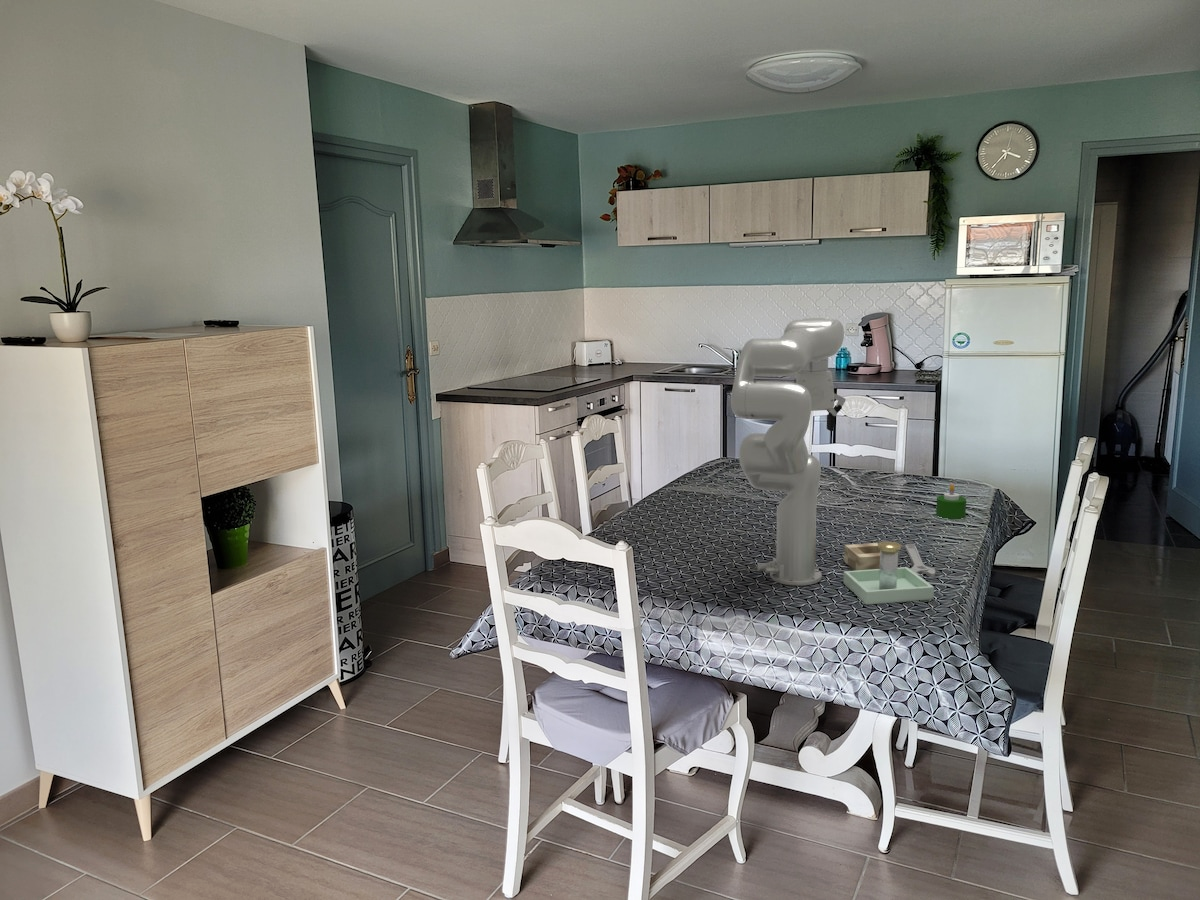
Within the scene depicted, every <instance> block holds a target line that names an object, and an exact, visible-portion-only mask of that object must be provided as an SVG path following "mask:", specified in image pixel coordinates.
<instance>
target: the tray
mask: <svg viewBox="0 0 1200 900" xmlns="http://www.w3.org/2000/svg"><path fill="white" fill-rule="evenodd" d="M910 569H911V568H909V567H908V566H904V567H898V568H897V589H884V590H880V589H879V572H880V569H871V570H857V571H855V570H846V571H843V579H842V580H843V582H842V583H843V585H845V587H847V588H848V589H849V590H850V591H851V592H854V593H853V594H854V595H856V596H857V597H858V598H859V599H860V600H861V601H862V602H863V603H864V604H865V605H878V604H891V603H904V602H918V601H919V600H920V601H929V600H930V599H933V600H934V597H935V594H934V593H935V587H934V586H933V585H932V584H930V583H929V582H928V581H927V580H925V579H924V578H922V576H921V577H920V576H918V575H917V574H916V573H914V572H913V571H912V570H910ZM920 601H919V602H920ZM930 601H931V600H930Z"/></svg>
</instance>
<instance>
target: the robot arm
mask: <svg viewBox="0 0 1200 900" xmlns="http://www.w3.org/2000/svg"><path fill="white" fill-rule="evenodd" d="M844 339H845V330H844V326H843V324H842V322H841V321H840V320H838V319H829V318H822V317H806V318H802V319H793V320H791V321H790V322H789V323H788V324H787V325H786V327H785V328H784V332H783V335H781V336H780V337H779V338H750V339H749V340H747V341H746V342H745V343H744V345H743V347H742V348H741V352H740V354H739V358H738V362H737V366H736V370H735V371H736V372H735V377H734V380H733V384H732V390H731V394H730V395H731V396H730V407H731V412H732V413H733V414H734V416H736V417H737V418H739V419H742V420H743V419H745V420H763V421H764V420H766V421H775V422H774V423H773V424H772V425H771V426H770V427H769V428H768V429H767V431H766V433H760V432H759V433H758V432H757V433H756V432H755V433H749V434H747V435H746V436H745V437H743V439H742V440H741V442H740V447H739V450H738V451H739V453H738V458H739V459H738V460H739V465H740V468H741V470H742V473H743V474H744V476H745V477H746V479H747V481H748V483H749V485H750V486H751V487H753V488H754V489H756V490H761V491H774V492H776V491H777V492H782V493H787V494H786V496H784V498H782V500H780V502H779V504H778V506H777V508H776V547H775V548H776V550H775V551H776V557H772V561H769V562H761V563H760V562H759V563H757V564H756V569H757V571H758V572H761V571H763V572H765V574H769V577H770V579H771V580H772V581H774V582H776V583H778V584H782V585H785V586H786V585H787V586H798V587H800V586H802V587H803V586H810V585H814V584H817V583H819V582H820V581H821V580H822V575H823V574H822V572H821V571H820V570H819V569H818V568H816V558H817V557H816V556H817V555H816V552H817V551H816V549H817V547H816V546H817V545H816V544H817V536H816V535H817V505H818V504H817V503H818V491H819V485H820V480H821V474H822V467H821V462H820V460H819V459H818V458H817V457H815V456H813V455H811V454H809V451H808V447H807V444H806V441H805V435H806V433H807V430H808V428H809V425H810V420H811V414H812V412H813V411H827V415H826V430H828V431H830V432H834V428H835V427H836V416H837V415H838V413H839V412H840V411H841V410H842V408H843V406H844V404H845V402H846V398H845V397H843V396H840V395H839V394H837V393H835V387H834V380H833V373H832V371H831V370H829V358H830V357H833V356H835V355H836V354H837V353H838V352H839V351H840V350H841V348H842V345H843V342H844ZM790 376H794V379H793V382H791V381H780V380H779V381H777V380H776V381H772V380H771V381H770V380H767V381H766V380H764V381H763V380H754V379H755V378H756V377H790ZM835 400H836V401H837V403H836V404H835Z"/></svg>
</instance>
